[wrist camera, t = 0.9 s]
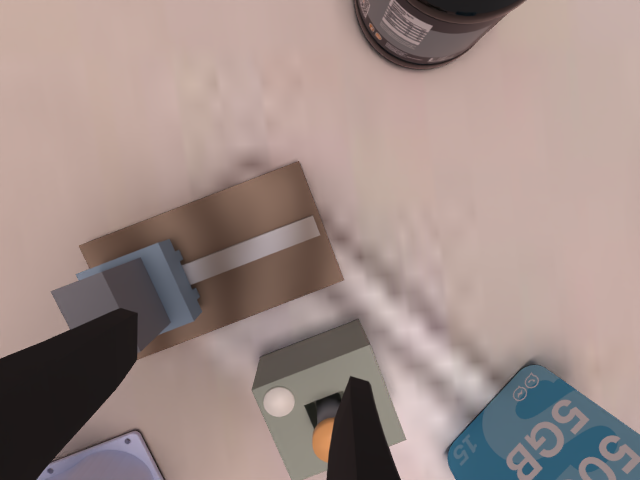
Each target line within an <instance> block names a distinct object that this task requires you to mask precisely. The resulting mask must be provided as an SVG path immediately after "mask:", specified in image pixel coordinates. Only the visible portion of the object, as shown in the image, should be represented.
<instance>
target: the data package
mask: <svg viewBox="0 0 640 480" xmlns="http://www.w3.org/2000/svg"><path fill="white" fill-rule="evenodd" d="M448 465H449V468H450V470H451V472H452V473H453V475H454V477H455V479H456V480H640V435H639V434H638V433H637V432H635V431H634V430H632V429H631V428H629V427H628V426H627V425H625V424H624V423H622V422H621V421H620V420H618V419H617V418H615V417H614V416H613V415H611V414H610V413H608V412H607V411H605V410H604V409H603V408H601V407H600V406H598V405H597V404H596V403H594V402H593V401H591V400H590V399H588V398H587V397H586V396H584V395H583V394H581V393H580V392H579V391H577V390H576V389H574V388H573V387H572V386H570V385H569V384H567V383H566V382H564V381H563V380H562V379H560V378H559V377H557V376H556V375H555V374H553V373H552V372H550V371H549V370H548V369H546V368H544V367H542V366H539V365H530V366H527V367H525V368H523V369H522V370H520V371H519V372H518V373H517V374H516V376H515V377H514V378H513V379H512V380H511V381H510V382H509V383H508V384H507V385H506V386H505V387H504V388H503V390H502V391H501V392H500V393H499V394H498V395H497V396H496V397H495V398H494V399H493V400H492V401H491V402H490V404H489V405H488V406H487V407H486V408H485V409H484V410H483V411H482V412H481V413H480V414H479V415H478V416H477V418H476V419H475V420H474V421H473V422H472V423H471V424H470V425H469V426H468V427H467V428H466V429H465V430H464V432H463V433H462V434H461V435H460V436H459V437H458V438H457V439H456V440H455V441H454V442H453V444H452V445H451V447H450V449H449V452H448Z"/></svg>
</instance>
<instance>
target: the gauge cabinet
mask: <svg viewBox="0 0 640 480" xmlns="http://www.w3.org/2000/svg"><path fill="white" fill-rule="evenodd" d="M350 376H352V377H356V378H359V379H363V380H366V381H369V383H370V384H371V387H372V392H373V396H374V400H375V404H376V408H377V411H378V415H379V418H380V422H381V425H382V428H383V431H384V435H385V437H386V440H387V443H388V446H392V445H394V444H397V443H399V442H402V441H404V440H406V438H405V435H404V432H403V430H402V427H401V424H400V422H399V419H398V417H397V414H396V411H395V409H394V406H393V403H392V401H391V398H390V396H389V393H388V390H387V388H386V385H385V382H384V380H383V377H382V374H381V372H380V369H379V367H378V364H377V361H376V359H375V356H374V353H373V351H372V348H371V346H370V343H369V341H368V339H367V337H366V334H365V332H364V330H363V328H362V326H361V323H360V321H359V319H358V320H355V321H353V322H350V323H347V324H345V325H342V326H340V327H337V328H334V329H332V330H329V331H327V332H324V333H321V334H319V335H316V336H314V337H311V338H308V339H306V340H303V341H301V342H298V343H295V344H293V345H290V346H288V347H285V348H282V349H280V350H277V351H275V352H272V353H269V354H267V355H264V356H262V357H260V360H259V364H258V368H257V372H256V376H255V379H254V383H253V387H252V392H253V395H254V397H255V399H256V401H257V404H258V406H259V408H260V410H261V413H262V415H263V417H264V419H265V422H266V424H267V426H268V428H269V431H270V433H271V435H272V437H273V440H274V442H275V444H276V446H277V449H278V451H279V453H280V455H281V458H282V460H283V462H284V464H285V467H286V469H287V471H288V473H289V476H290V478H291V480H303V479H306V478H308V477H311V476H314V475H316V474H319V473H321V472H324V471H327V468H328V463H327V462H324V461H322V460H321V459H319V458H318V457H317V456H316V454H315V453H314V450H313V444H312V435H313V431H314V429H315V427H316V426H317V410H316V400H319V399H322V398H324V397H327V396H329V395H332V394H334V393H337V392H338V393H339V394H340V395H341V399H342V397H343V394H344V391H345V389H346V386H347V383H348V381H349V378H350Z"/></svg>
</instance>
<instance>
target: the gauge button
mask: <svg viewBox="0 0 640 480" xmlns="http://www.w3.org/2000/svg"><path fill="white" fill-rule="evenodd" d="M341 400H342V399H341V395H340V394H339V393H338V392H337V393H334V394H332V395H329V396H327V397H324V398H322V399H319V400H316V410H317V426H316V427H315V429H314V431H313V435H312V444H313V450H314V453H315V454H316V456H317V457H318V458H319V459H321V460H322V461H324V462H327V463H328V455H329V448H330V441H331V435H332V430H333V424H334V418H335V416H336V413H337V410H338V408H339V405H340V402H341Z"/></svg>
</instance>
